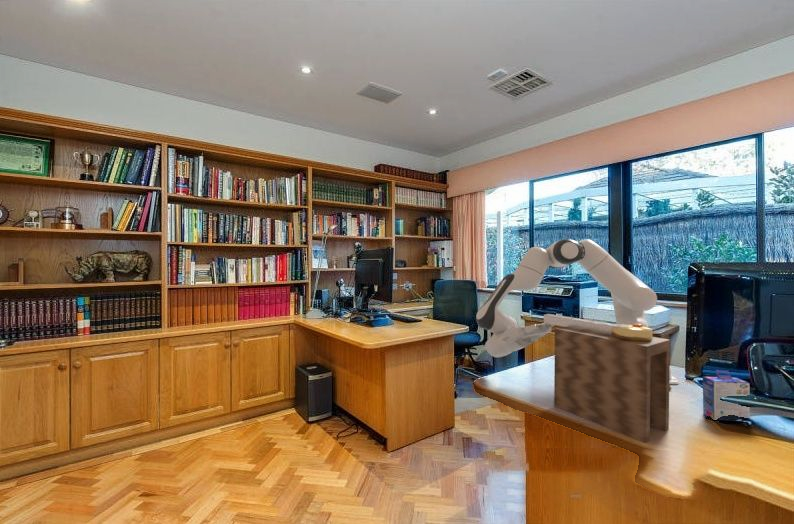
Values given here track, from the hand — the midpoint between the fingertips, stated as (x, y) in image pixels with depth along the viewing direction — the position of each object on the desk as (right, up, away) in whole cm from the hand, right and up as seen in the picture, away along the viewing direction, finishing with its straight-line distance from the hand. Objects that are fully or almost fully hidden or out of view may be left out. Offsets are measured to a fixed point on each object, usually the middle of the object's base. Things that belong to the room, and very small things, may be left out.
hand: (544, 324), depth 128 cm
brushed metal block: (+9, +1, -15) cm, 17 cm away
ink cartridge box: (+48, -26, -20) cm, 57 cm away
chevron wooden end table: (+12, -25, -19) cm, 34 cm away
